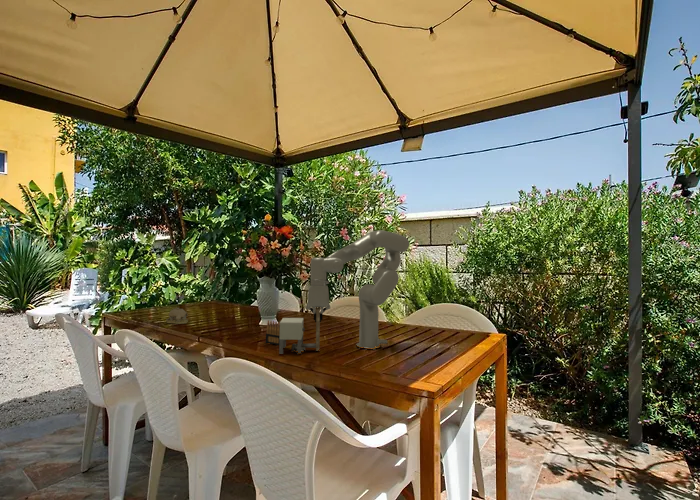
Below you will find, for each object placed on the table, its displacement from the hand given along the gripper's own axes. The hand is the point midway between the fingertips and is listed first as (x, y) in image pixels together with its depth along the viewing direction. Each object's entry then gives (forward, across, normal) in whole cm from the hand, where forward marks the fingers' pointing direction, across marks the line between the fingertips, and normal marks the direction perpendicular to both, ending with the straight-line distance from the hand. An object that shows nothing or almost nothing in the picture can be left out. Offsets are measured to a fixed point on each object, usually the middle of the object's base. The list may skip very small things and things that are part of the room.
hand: (318, 321), depth 181 cm
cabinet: (+14, +13, 0) cm, 19 cm away
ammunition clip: (+14, +23, -14) cm, 30 cm away
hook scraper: (+14, +6, 0) cm, 15 cm away
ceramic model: (+14, +95, -75) cm, 122 cm away
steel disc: (+14, +8, 0) cm, 17 cm away
